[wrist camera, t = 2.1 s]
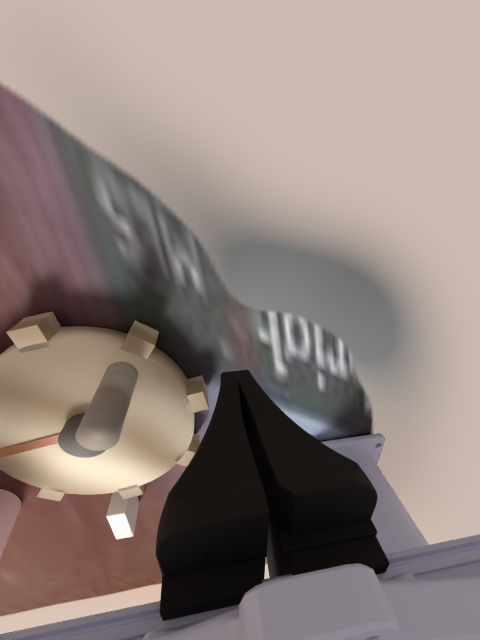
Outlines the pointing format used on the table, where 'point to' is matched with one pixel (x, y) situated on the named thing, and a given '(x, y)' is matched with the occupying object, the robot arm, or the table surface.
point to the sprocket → (93, 408)
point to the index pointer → (122, 515)
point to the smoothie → (7, 515)
